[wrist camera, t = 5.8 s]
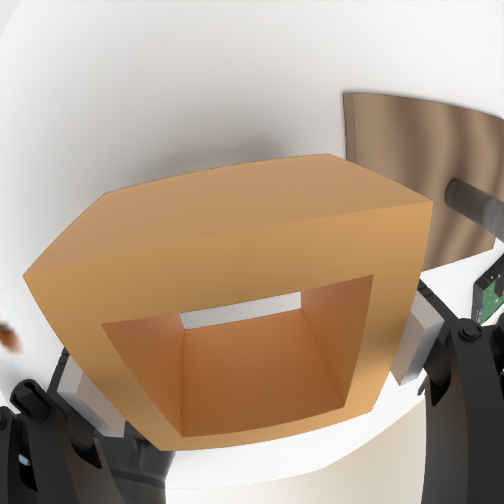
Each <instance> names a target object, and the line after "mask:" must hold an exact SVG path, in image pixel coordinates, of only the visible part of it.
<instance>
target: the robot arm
mask: <svg viewBox="0 0 504 504" xmlns="http://www.w3.org/2000/svg"><path fill="white" fill-rule="evenodd" d="M61 355H62V356H60V358H59V361H58V365H57V366H56V369H55V371H54V374H53V376H52V379H51V382H50V385H49V388H48V390H47V393H46V392H45V391H44V390H43V389H42V388H41V387H40V386H39V385H38V384H37V382H36V381H35V380H32V379H26V380H23V381H22V382H20V383H18V385H17V386H16V387H15V388H14V390H13V392H12V394H11V397H10V402H11V403H12V404H13V405H14V406H15V407H16V408H17V409H18V410H19V411H20V412H21V413H20V414H14V413H13V412H12V411H11V410H10V409H9V408H8V407H6V406H1V407H0V504H166V500H165V499H166V498H165V479H166V476H167V473H168V471H169V468H170V466H171V463H172V461H173V458H174V456H175V451H160V450H159V449H158V448H157V447H155V446H154V445H153V444H152V443H151V442H150V441H149V440H147V439H146V438H145V437H144V436H143V435H142V434H141V433H140V432H139V431H138V430H136V429H135V428H134V427H133V426H132V425H131V424H130V423H129V422H127V421H125V420H126V418H125V417H124V416H123V415H122V414H121V413H120V412H119V411H118V410H117V409H116V408H115V407H114V406H113V405H112V404H111V403H110V402H109V400H108V399H107V398H106V397H105V396H104V395H103V394H102V393H101V391H100V390H99V389H98V388H97V387H96V386H95V384H94V383H93V382H92V381H91V380H90V378H89V377H88V376H87V375H86V373H85V372H84V371H82V369H81V368H80V367H79V365H78V364H77V363H76V362H75V360H74V359H73V358H72V356H71V355H70V353H69V352H68V351H67V349H66V348H65V346H64V349H63V351H62V354H61ZM422 368H424V369H425V371H426V372H427V376H426V378H425V379H424V381H423V383H422V385H421V386H420V388H419V390H418V395H421V393H422V392H423V390H424V388H425V394H424V395H425V398H426V429H427V430H426V461H425V462H426V463H425V475H424V485H423V493H422V501H421V504H504V371H503V369H504V313H502V314H501V315H500V317H499V319H498V321H497V323H496V324H495V325H489V326H483V327H482V326H480V325H479V324H478V323H477V322H476V321H474V320H471V319H467V318H461V319H458V318H457V317H456V316H455V315H454V313H453V312H452V311H451V310H450V309H449V308H448V307H447V306H446V305H445V304H444V303H443V302H442V301H441V300H440V299H439V298H438V297H437V295H436V294H435V295H434V292H433V291H432V290H431V289H430V288H427V285H426V284H425V283H424V282H423V281H422V280H421V279H419V283H418V287H417V291H416V295H415V298H414V302H413V305H412V309H411V311H410V314H409V317H408V320H407V323H406V326H405V330H404V333H403V335H402V338H401V341H400V344H399V347H398V350H397V352H396V355H395V358H394V360H393V363H392V365H391V368H390V371H391V372H392V374H393V376H394V377H395V379H396V381H397V383H398V384H399V386H401V385H403V384H405V383H407V382H410V381H412V380H414V379H416V378H418V376H419V374H420V372H421V370H422Z"/></svg>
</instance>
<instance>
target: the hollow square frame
mask: <svg viewBox="0 0 504 504" xmlns="http://www.w3.org/2000/svg"><path fill="white" fill-rule="evenodd" d="M432 208H433V201H432V200H430V199H428V198H426V197H424V196H422V195H421V194H419V193H417V192H415V191H413V190H411V189H409V188H407V187H405V186H403V185H401V184H399V183H397V182H395V181H392V180H390V179H388V178H386V177H384V176H382V175H379V174H377V173H375V172H373V171H371V170H368V169H366V168H364V167H361V166H359V165H357V164H354V163H352V162H349V161H347V160H344V159H342V158H339V157H337V156H334V155H331V154H329V153H328V154H316V155H305V156H296V157H287V158H278V159H270V160H263V161H256V162H249V163H242V164H236V165H230V166H224V167H218V168H212V169H207V170H202V171H196V172H191V173H186V174H182V175H177V176H172V177H168V178H163V179H159V180H155V181H150V182H146V183H142V184H138V185H134V186H130V187H127V188H123V189H119V190H115V191H112V192H108V193H105V194H104V195H102V196H101V197H100V198H99V199H98V200H97V201H95V202H94V203H93V204H92V205H91V206H90V207H89V208H88V209H86V210H85V211H84V212H83V213H82V214H81V215H80V216H79V217H78V218H77V219H76V220H75V221H74V222H72V223H71V224H70V225H69V226H68V227H67V228H66V229H65V230H64V231H63V232H62V233H61V234H60V235H59V236H58V237H57V238H56V239H55V240H54V241H53V242H52V243H51V245H50V246H49V247H48V248H47V249H46V250H45V251H44V252H43V253H42V254H41V255H40V256H39V257H38V259H37V260H36V261H35V262H34V263H33V264H32V265H31V266H30V268H29V269H28V270H27V271H26V272H25V273H24V275H23V278H24V280H25V282H26V284H27V286H28V288H29V289H30V291H31V293H32V295H33V297H34V299H35V300H36V302H37V304H38V306H39V307H40V309H41V311H42V313H43V314H44V316H45V318H46V319H47V321H48V322H49V324H50V326H51V327H52V329H53V330H54V332H55V333H56V335H57V336H58V338H59V339H60V341H61V342H62V344H63V345H64V346H65V348H66V349H67V351H68V352H69V353H70V355H71V356H72V358H73V359H74V360H75V362H76V363H77V364H78V365H79V367H80V368H81V369H82V371H84V372H85V373H86V375H87V376H88V377H89V378H90V380H91V381H92V382H93V383H94V384H95V386H96V387H97V388H98V389H99V390H100V391H101V393H102V394H103V395H104V396H105V397H106V398H107V399H108V400H109V402H110V403H111V404H112V405H113V406H114V407H115V408H116V409H117V410H118V411H119V412H120V413H121V414H122V415H123V416H124V417H125V418H126V420H127V421H128V422H129V423H130V424H131V425H132V426H133V427H134V428H135V429H136V430H138V431H139V432H140V433H141V434H142V435H143V436H144V437H145V438H146V439H147V440H149V441H150V442H151V443H152V444H153V445H154V446H155V447H157V448H158V449H159V450H160V451H182V450H201V449H213V448H223V447H232V446H239V445H246V444H253V443H259V442H264V441H270V440H275V439H280V438H284V437H289V436H293V435H297V434H301V433H305V432H309V431H313V430H316V429H320V428H323V427H327V426H330V425H333V424H337V423H340V422H343V421H346V420H349V419H352V418H354V417H357V416H360V415H363V414H365V413H368V412H371V411H372V409H373V407H374V405H375V403H376V401H377V399H378V396H379V394H380V392H381V390H382V388H383V385H384V383H385V381H386V378H387V376H388V374H389V371H390V368H391V365H392V363H393V360H394V358H395V355H396V352H397V350H398V347H399V344H400V341H401V338H402V335H403V333H404V330H405V326H406V323H407V320H408V317H409V314H410V311H411V309H412V305H413V302H414V298H415V295H416V291H417V287H418V283H419V279H420V275H421V271H422V266H423V261H424V257H425V252H426V247H427V241H428V235H429V229H430V223H431V216H432ZM298 291H301V308H300V309H296V310H291V311H286V312H282V313H277V314H272V315H267V316H262V317H257V318H252V319H246V320H241V321H235V322H230V323H224V324H218V325H212V326H206V327H199V328H193V329H186V330H185V329H184V326H183V324H182V321H181V319H180V316H179V313H184V312H190V311H197V310H203V309H209V308H215V307H221V306H226V305H232V304H237V303H243V302H248V301H254V300H259V299H264V298H269V297H274V296H279V295H284V294H289V293H294V292H298Z"/></svg>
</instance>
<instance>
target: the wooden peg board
mask: <svg viewBox="0 0 504 504" xmlns="http://www.w3.org/2000/svg"><path fill="white" fill-rule="evenodd" d="M343 101H344V113H345V128H346V149H347V161H349V162H352V163H354V164H357V165H359V166H361V167H364V168H366V169H368V170H371V171H373V172H375V173H377V174H379V175H382V176H384V177H386V178H388V179H390V180H392V181H395V182H397V183H399V184H401V185H403V186H405V187H407V188H409V189H411V190H413V191H415V192H417V193H419V194H421V195H422V196H424V197H426V198H428V199H430V200H432V201H433V208H432V216H431V223H430V229H429V235H428V241H427V247H426V252H425V257H424V261H423V266H422V271H421V272H423V271H426V270H430V269H433V268H436V267H440V266H443V265H446V264H449V263H452V262H456V261H459V260H462V259H465V258H468V257H471V256H474V255H477V254H480V253H483V252H485V251H488V250H491V249H493V246H494V243H495V239H496V237H497V238H498V239H499V240H501V241H502V242H504V120H503V119H500V118H497V117H494V116H491V115H487V114H484V113H480V112H477V111H473V110H469V109H465V108H461V107H457V106H452V105H447V104H442V103H437V102H432V101H426V100H420V99H413V98H406V97H398V96H388V95H378V94H364V93H343Z"/></svg>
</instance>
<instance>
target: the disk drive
mask: <svg viewBox="0 0 504 504" xmlns="http://www.w3.org/2000/svg"><path fill="white" fill-rule="evenodd" d="M503 303H504V254H503V255H502V256H501V257H500V258H499V259H498V260H497V261H496V262H495V263H494V264H493V265H492V266H491V267H490V268H489V269H488V270H487V271H486V272H485V273H484V274H483V275H482V276H481V277H480V278H479V279H478V280H477V281H476V282H475V283H474V285H473V304H472V314H471V315H472V316H471V320H474V321H476V322H477V323H478V324H479V325H482V324H483V323H484V322H485V321H487V320H488V319H489V318H490V317H491V316H492V314H493V313H495V312H496V310H498V309H499V307H500V306H501V305H502V304H503Z"/></svg>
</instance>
